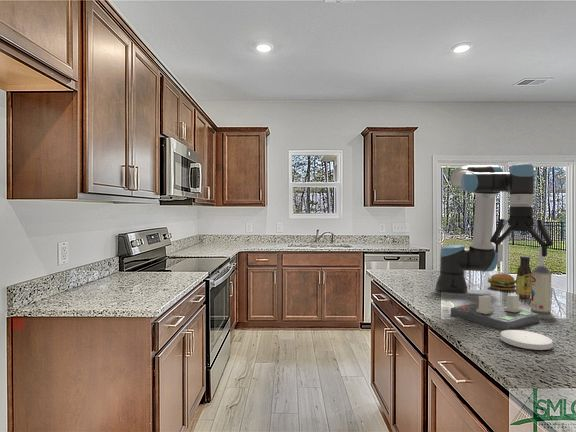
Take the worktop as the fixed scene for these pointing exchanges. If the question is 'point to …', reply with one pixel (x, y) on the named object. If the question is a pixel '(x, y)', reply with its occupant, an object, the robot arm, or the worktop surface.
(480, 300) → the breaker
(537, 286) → the aerosol can
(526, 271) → the sauce bottle
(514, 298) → the lever
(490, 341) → the worktop surface
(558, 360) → the worktop surface
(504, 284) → the food
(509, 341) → the plastic lid
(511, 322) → the breaker box
